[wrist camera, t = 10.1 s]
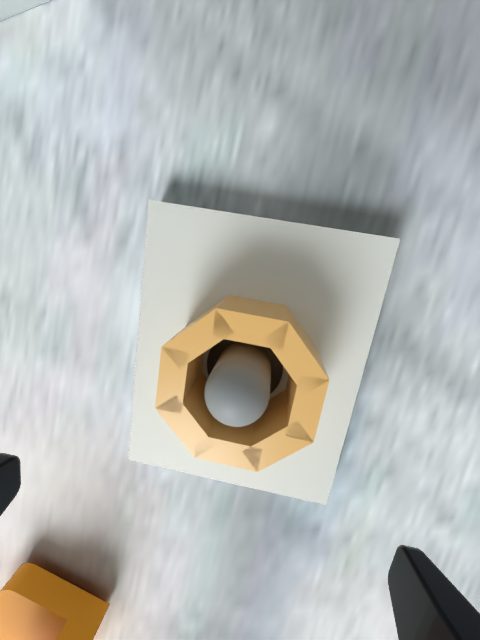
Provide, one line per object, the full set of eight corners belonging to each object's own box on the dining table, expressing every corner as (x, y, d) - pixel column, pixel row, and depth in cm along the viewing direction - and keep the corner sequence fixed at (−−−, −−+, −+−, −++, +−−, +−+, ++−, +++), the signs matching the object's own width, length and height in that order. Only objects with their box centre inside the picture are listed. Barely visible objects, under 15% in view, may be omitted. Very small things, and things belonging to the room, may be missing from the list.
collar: (327, 312, 15) (342, 331, 12) (298, 435, 17) (303, 482, 13) (190, 287, 16) (166, 298, 12) (175, 408, 17) (150, 447, 14)
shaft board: (388, 239, 15) (457, 234, 9) (322, 485, 19) (342, 591, 13) (160, 204, 16) (93, 179, 10) (139, 444, 20) (81, 526, 14)
